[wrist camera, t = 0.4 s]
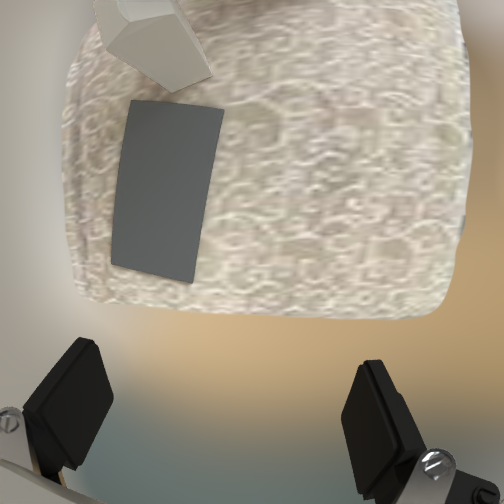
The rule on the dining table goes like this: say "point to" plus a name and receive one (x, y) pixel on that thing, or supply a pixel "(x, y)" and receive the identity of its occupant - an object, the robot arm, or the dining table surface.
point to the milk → (153, 40)
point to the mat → (163, 187)
